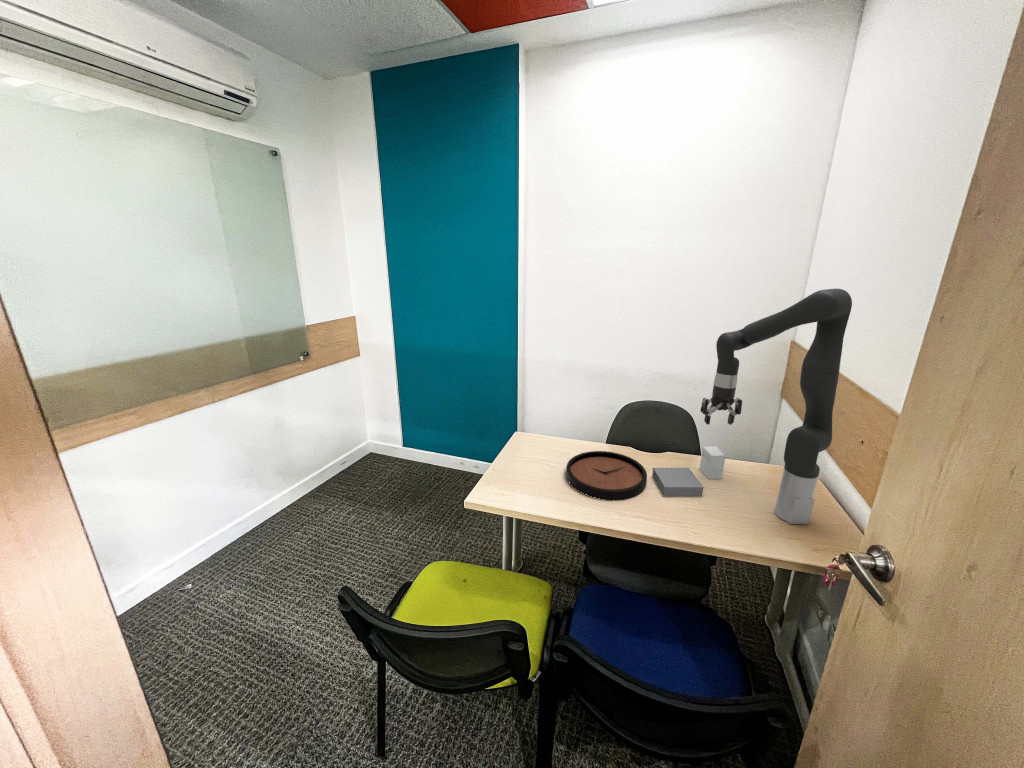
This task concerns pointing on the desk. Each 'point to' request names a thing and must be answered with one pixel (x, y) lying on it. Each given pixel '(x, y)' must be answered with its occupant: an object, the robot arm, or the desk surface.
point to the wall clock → (606, 475)
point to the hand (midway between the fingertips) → (718, 423)
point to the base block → (677, 482)
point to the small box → (712, 462)
